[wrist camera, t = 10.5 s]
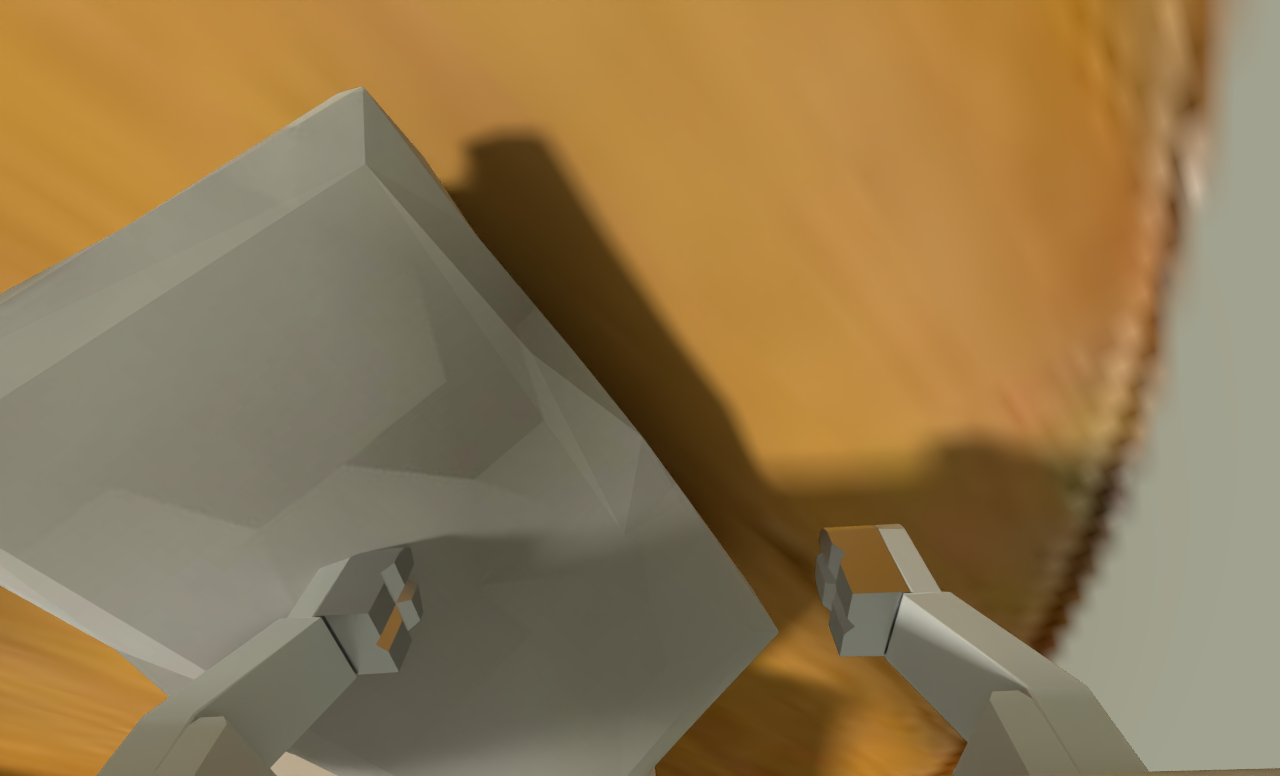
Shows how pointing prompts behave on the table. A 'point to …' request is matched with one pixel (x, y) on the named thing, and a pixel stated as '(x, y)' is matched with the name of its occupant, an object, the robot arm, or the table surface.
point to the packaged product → (357, 467)
